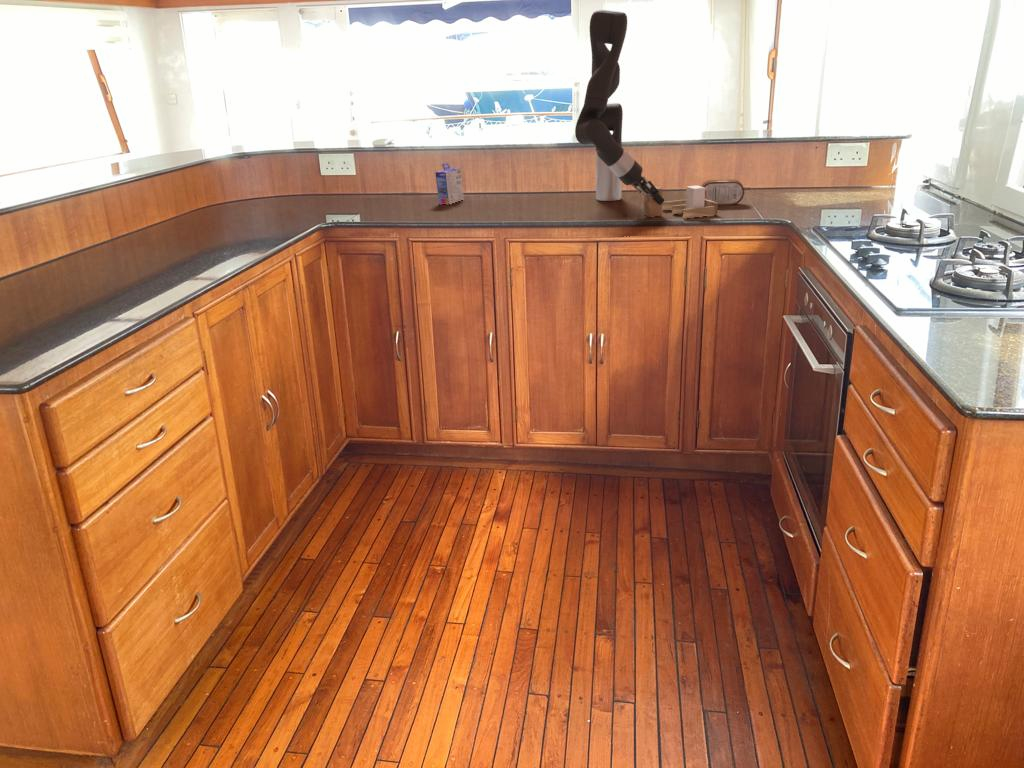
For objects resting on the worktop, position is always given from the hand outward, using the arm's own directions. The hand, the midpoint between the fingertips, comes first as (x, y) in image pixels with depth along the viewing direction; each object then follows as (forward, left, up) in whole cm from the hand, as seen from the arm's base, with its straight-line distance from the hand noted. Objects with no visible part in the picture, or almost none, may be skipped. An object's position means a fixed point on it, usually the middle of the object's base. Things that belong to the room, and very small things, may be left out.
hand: (658, 201), depth 262 cm
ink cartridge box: (-60, -57, -5) cm, 83 cm away
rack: (+2, +10, -4) cm, 11 cm away
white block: (+6, +10, -4) cm, 13 cm away
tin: (-5, +26, -5) cm, 27 cm away
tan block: (0, -2, -5) cm, 5 cm away
